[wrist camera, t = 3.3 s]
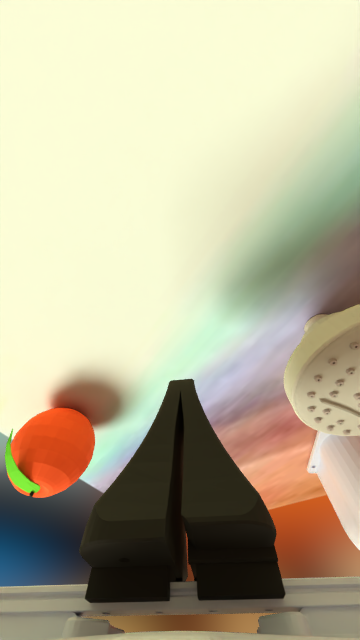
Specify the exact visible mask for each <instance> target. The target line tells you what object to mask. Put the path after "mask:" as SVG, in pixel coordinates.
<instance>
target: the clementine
mask: <svg viewBox="0 0 360 640" xmlns="http://www.w3.org/2000/svg"><path fill="white" fill-rule="evenodd" d="M12 432H13V429H12V431H11V434H10V437H9V439H8V442H7V445H6V453H5V461H6V468H7V474H8V477H9V479H10V481H11V483H12V484H13V486H14V487H15V488H16V490H18V491H19V492H21V493H22V494H25V495H27V496H31V497H48V496H51V495H54V494H56V493H59V492H61V491H63V490H65V489H66V488H68V487H69V486H70V485H72V484H73V483H74V482H76V481H77V480H78V478H79V477H80V476H81V475H82V474H83V472H84V471H85V470H86V468H87V467H88V465H89V463H90V461H91V459H92V455H93V451H94V446H95V435H94V430H93V428H92V425H91V423H90V421H89V420H88V419H87V418H86V417H85V416H84V415H83V414H81V413H80V412H78V411H76V410H73V409H69V408H54V409H50V410H47V411H44V412H42V413H40V414H38V415H36V416H35V417H33V418H32V419H30V420H29V421H28V422H27V423H26V424H25V425H24V426H23V427H22V428H21V429H20V430H19V431H18V432H17V433H16V435H15V437H14V439H13V441H12V443H11V445H10V442H11V437H12Z"/></svg>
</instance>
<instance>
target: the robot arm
mask: <svg viewBox="0 0 360 640" xmlns="http://www.w3.org/2000/svg"><path fill="white" fill-rule="evenodd" d="M307 471H308V472H309V473H317V475H318V477H319V479H320V481H321V483H322V485H323V487H324V489H325V491H326V493H327V495H328V497H329V499H330V501H331V503H332V505H333V507H334V509H335V511H336V513H337V515H338V517H339V520H340V522H341V523H342V526H343V528H344V530H345V531H346V533H347V535H348V537H349V538H350V539H351V541H352V542H353V543H354V545H355V546H356V547H357V548H358V549H359V550H360V436H339V435H332V434H327V433H323V432H320V431H318V432H317V435H316V439H315V442H314V445H313V449H312V452H311V456H310V459H309V462H308V466H307ZM186 533H187V537H188V563H189V564H190V565H191V568H192V572H193V575H194V581H191V582H185V581H186V579H187V577H188V572H187V552H186ZM275 538H276V529H275V526H274V523H273V520H272V518H271V516H270V514H269V512H268V510H267V508H266V506H265V504H264V502H263V500H262V498H261V497H260V495H259V493H258V492H257V491H256V490H255V488H254V487H253V486H252V485H251V484H250V482H249V481H248V480H247V479H246V477H245V476H244V475H243V473H242V472H241V471H240V469H239V468H238V467H237V465H236V464H235V463H234V461H233V460H232V458H231V457H230V455H229V454H228V453H227V451H226V450H225V448H224V447H223V445H222V444H221V442H220V440H219V439H218V437H217V435H216V434H215V432H214V430H213V428H212V427H211V425H210V423H209V421H208V419H207V417H206V415H205V413H204V411H203V408H202V406H201V404H200V401H199V399H198V396H197V393H196V390H195V385H194V380H193V379H185V380H173V381H170V382H169V385H168V389H167V392H166V395H165V397H164V400H163V402H162V405H161V407H160V409H159V412H158V414H157V416H156V418H155V420H154V422H153V424H152V426H151V428H150V430H149V431H148V433H147V435H146V437H145V438H144V440H143V442H142V443H141V445H140V446H139V448H138V449H137V451H136V453H135V454H134V456H133V457H132V458H131V460H130V461H129V463H128V464H127V465H126V467H125V468H124V469H123V471H122V472H121V473H120V475H119V476H118V477H117V479H116V480H115V481H114V482H113V483H112V485H111V486H110V487H109V488H108V489H107V490H106V492H105V493H104V494H103V495H102V496H101V497H100V499H99V500H98V501H97V502H96V503H95V505H94V507H93V510H92V512H91V515H90V517H89V520H88V522H87V525H86V528H85V532H84V535H83V539H82V542H81V546H80V550H79V552H80V554H81V556H82V558H83V559H84V560H85V561H86V562H88V564H90V566H91V567H92V570H91V574H90V578H89V583H88V584H86V585H50V586H15V587H0V640H360V577H333V578H331V577H330V578H297V579H296V578H295V579H282V578H281V574H280V570H279V567H278V563H277V562H278V558H277V554H276V550H275V546H274V542H275ZM233 613H234V614H235V613H278V614H272V615H266V616H261V617H259V620H258V622H259V628H258V630H257V634H254V633H234V632H210V631H154V632H134V633H125V632H124V630H121V629H118V628H115V627H113V626H112V625H110V623H109V621H108V620H100V619H91V618H82V617H81V616H130V615H177V614H178V615H180V614H233Z"/></svg>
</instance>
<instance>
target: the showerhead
mask: <svg viewBox="0 0 360 640" xmlns="http://www.w3.org/2000/svg"><path fill="white" fill-rule="evenodd" d="M304 331H305V334H304V335H303V337H302V340H301V343H300V344H299V345H298V346H297V348H296V349H295V350H294V352H293V354H292V355H291V357H290V359H289V361H288V363H287V366H286V369H285V373H284V388H285V392H286V394H287V397H288V399H289V401H290V403H291V405H292V407H293V409H294V411H295V413H296V415H297V416H298V417H299V419H300V420H301V421H302V422H304V423H305V424H306V425H308V426H309V427H311V428H313V429H315V430H318V431H320V432H323V433H327V434H332V435H339V436H360V304H358V305H355V306H353V307H350V308H348V309H346V310H344V311H342V312H337V313H333V314H330V315H326V314H320V315H316V316H314V317H312V318H311V319H309V320H308V322H307V323H306V325H305V328H304Z"/></svg>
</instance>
